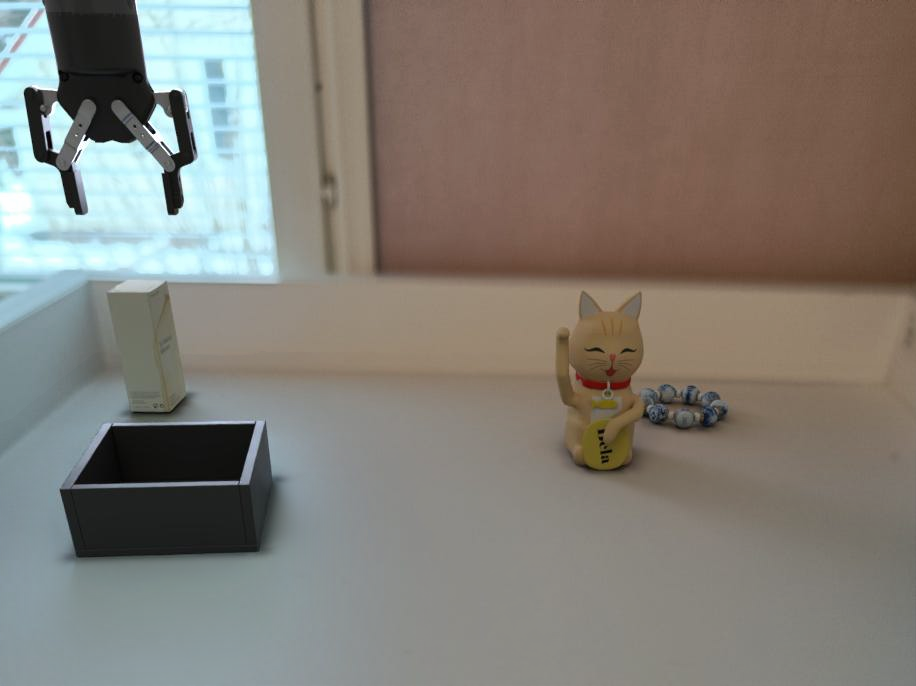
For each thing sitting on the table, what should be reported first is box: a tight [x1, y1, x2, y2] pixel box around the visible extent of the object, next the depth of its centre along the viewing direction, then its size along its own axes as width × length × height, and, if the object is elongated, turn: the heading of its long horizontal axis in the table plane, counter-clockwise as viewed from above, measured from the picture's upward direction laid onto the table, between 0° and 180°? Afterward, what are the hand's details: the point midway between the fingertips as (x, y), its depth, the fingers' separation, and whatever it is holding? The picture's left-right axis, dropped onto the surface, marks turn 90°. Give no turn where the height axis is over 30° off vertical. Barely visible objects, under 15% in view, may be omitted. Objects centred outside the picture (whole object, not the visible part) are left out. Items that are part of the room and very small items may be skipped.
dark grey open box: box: [59, 420, 273, 558], centre depth 74 cm, size 14×14×6 cm
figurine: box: [554, 290, 645, 471], centre depth 84 cm, size 9×10×15 cm
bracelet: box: [638, 383, 729, 429], centre depth 98 cm, size 10×10×2 cm
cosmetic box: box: [105, 279, 187, 413], centre depth 94 cm, size 6×4×12 cm
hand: (127, 214), depth 87 cm, fingers open, 8 cm apart
